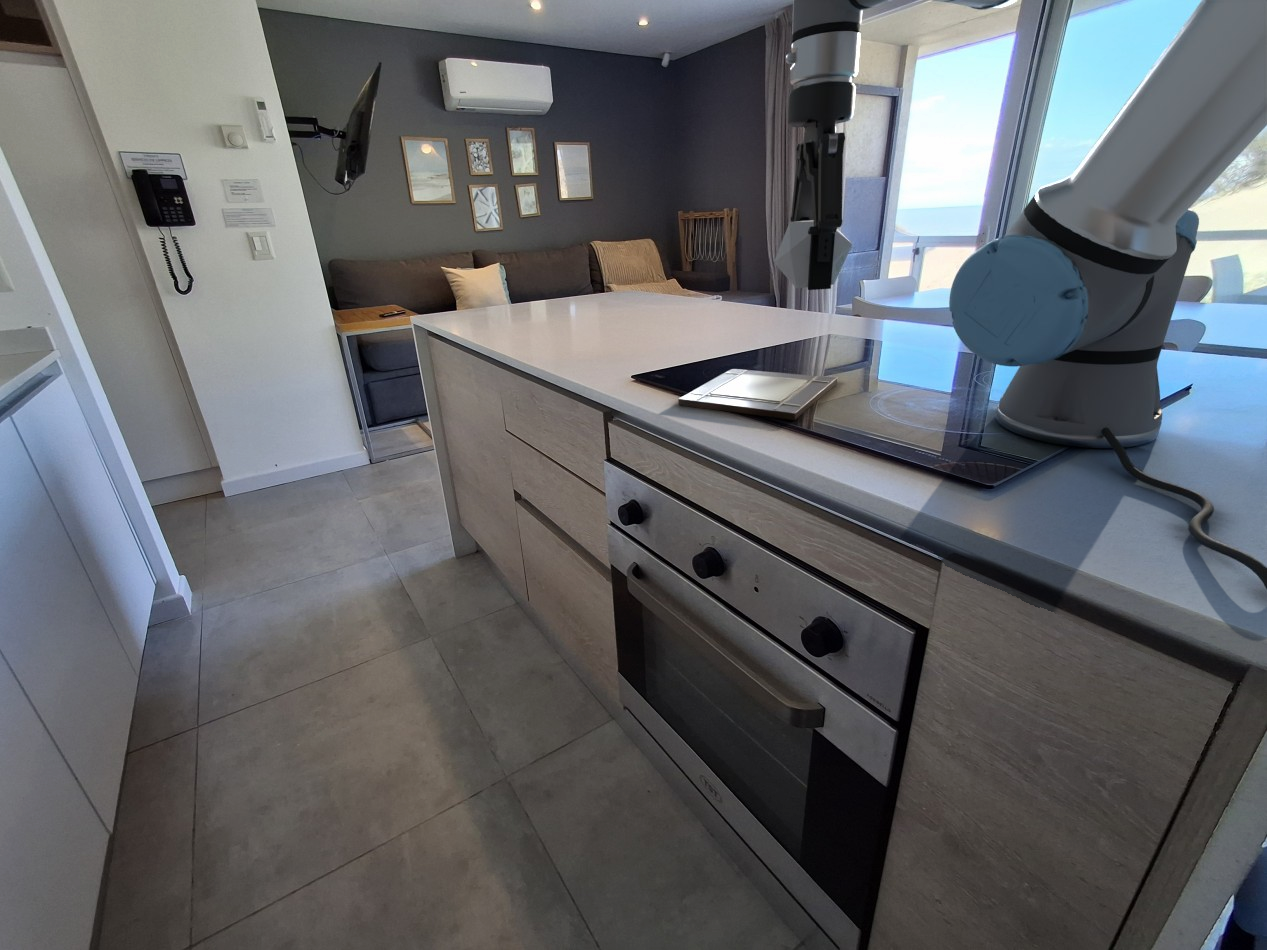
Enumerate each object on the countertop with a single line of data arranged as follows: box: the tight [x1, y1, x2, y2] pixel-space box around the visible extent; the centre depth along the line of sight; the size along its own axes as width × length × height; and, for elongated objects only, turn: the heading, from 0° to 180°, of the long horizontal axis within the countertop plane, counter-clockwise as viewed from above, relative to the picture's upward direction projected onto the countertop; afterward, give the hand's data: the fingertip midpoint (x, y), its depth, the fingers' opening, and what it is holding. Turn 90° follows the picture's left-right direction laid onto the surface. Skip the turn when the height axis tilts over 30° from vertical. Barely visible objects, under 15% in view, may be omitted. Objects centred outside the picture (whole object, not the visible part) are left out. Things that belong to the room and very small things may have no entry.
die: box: [773, 220, 853, 289], centre depth 75 cm, size 8×9×10 cm
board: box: [677, 368, 838, 421], centre depth 87 cm, size 18×18×1 cm
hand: (809, 283), depth 77 cm, fingers closed on die, 10 cm apart
